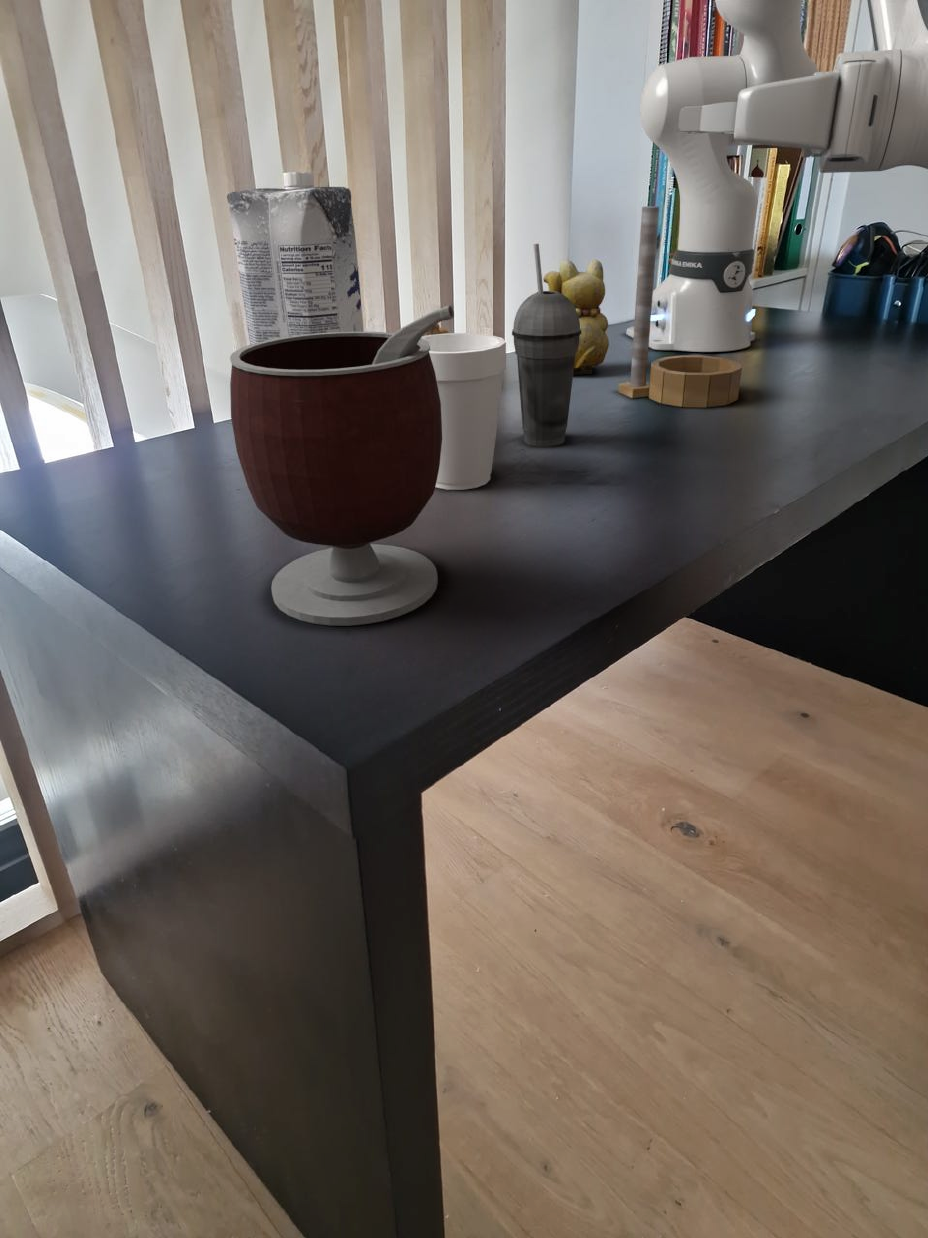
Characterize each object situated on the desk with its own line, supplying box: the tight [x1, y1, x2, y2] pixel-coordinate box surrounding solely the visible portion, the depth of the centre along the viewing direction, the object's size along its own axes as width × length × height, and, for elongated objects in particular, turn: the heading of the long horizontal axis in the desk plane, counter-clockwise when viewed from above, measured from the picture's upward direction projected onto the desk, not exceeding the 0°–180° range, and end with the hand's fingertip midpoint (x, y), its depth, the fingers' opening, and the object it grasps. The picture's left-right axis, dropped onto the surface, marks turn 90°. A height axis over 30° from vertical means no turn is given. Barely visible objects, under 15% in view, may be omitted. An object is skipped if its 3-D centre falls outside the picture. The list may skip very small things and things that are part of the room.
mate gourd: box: [229, 304, 455, 627], centre depth 57 cm, size 16×14×20 cm
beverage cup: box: [511, 243, 582, 448], centre depth 87 cm, size 7×7×20 cm
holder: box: [618, 205, 743, 409], centre depth 101 cm, size 12×13×22 cm
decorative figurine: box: [542, 259, 610, 376], centre depth 117 cm, size 10×8×15 cm
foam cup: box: [421, 332, 507, 491], centre depth 79 cm, size 10×9×13 cm
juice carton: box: [226, 171, 365, 345], centre depth 84 cm, size 9×10×27 cm
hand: (683, 121), depth 74 cm, fingers open, 8 cm apart
